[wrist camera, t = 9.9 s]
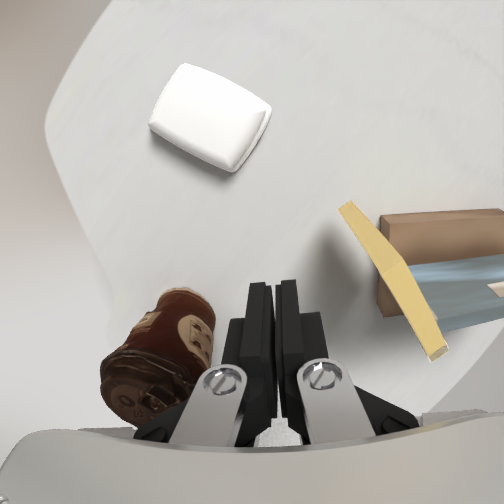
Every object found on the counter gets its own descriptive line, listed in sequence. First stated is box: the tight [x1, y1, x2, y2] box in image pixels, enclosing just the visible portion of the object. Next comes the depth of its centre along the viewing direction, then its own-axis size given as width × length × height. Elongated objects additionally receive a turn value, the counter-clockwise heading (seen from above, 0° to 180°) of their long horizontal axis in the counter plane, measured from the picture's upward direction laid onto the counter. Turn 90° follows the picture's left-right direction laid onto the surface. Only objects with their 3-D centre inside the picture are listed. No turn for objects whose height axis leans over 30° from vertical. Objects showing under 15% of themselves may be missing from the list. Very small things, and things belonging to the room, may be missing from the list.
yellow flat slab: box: [338, 201, 449, 362], centre depth 18 cm, size 1×7×10 cm, turn 39°
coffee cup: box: [100, 288, 216, 428], centre depth 25 cm, size 9×8×13 cm
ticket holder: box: [377, 209, 504, 332], centre depth 22 cm, size 9×14×10 cm, turn 97°
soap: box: [148, 64, 272, 172], centre depth 23 cm, size 9×7×3 cm
